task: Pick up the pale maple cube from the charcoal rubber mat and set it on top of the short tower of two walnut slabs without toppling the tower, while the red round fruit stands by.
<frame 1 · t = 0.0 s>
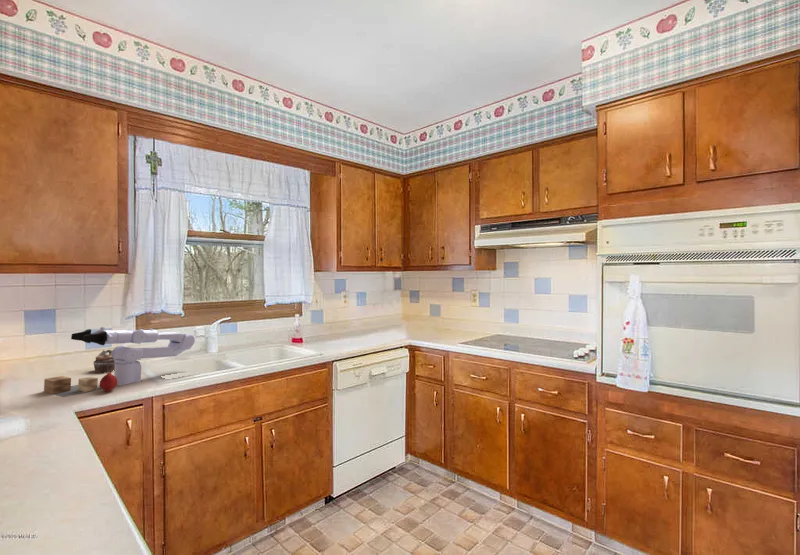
hand: (77, 337, 163), 22 cm above the worktop, tool horizontal, fingers open, 7 cm apart
red round fruit: (108, 392, 165), on the worktop
tower top: (57, 384, 162), point 3 cm above the worktop, touching tower base
mat: (73, 391, 165), on the worktop
cupcake: (105, 371, 200), on the worktop
tower base: (57, 391, 162), resting on mat, touching tower top
cube: (87, 389, 166), resting on mat
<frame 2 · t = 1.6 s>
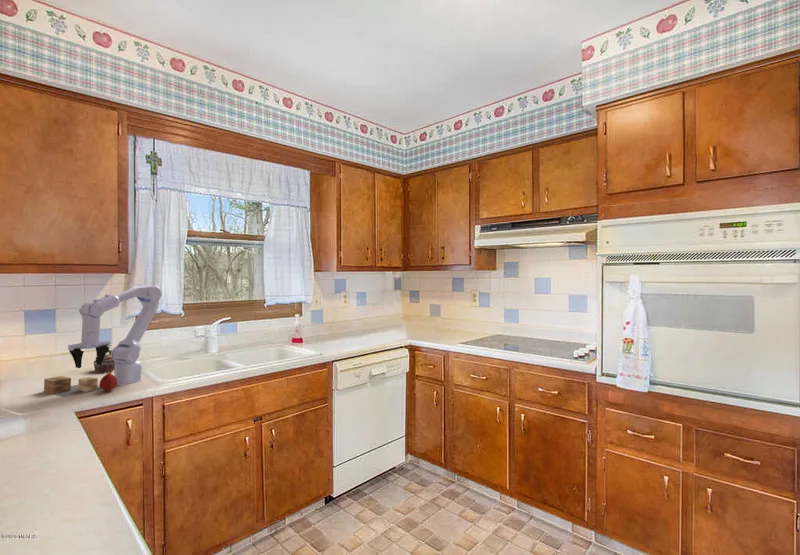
hand: (88, 366, 166), 10 cm above the worktop, tool pointing down, fingers open, 7 cm apart
nothing on the worktop moved.
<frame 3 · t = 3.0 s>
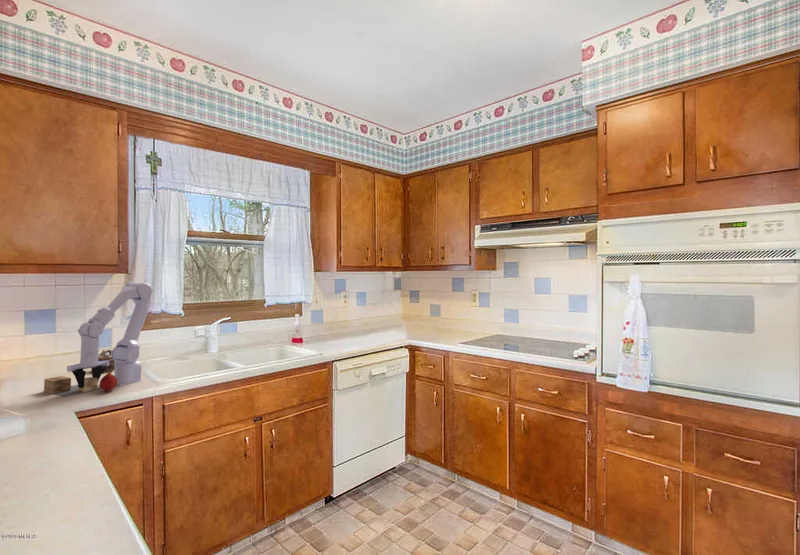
hand: (87, 386, 166), 2 cm above the worktop, tool pointing down, fingers closed on cube, 4 cm apart
cube: (87, 389, 166), resting on mat, touching gripper
everything else where it was.
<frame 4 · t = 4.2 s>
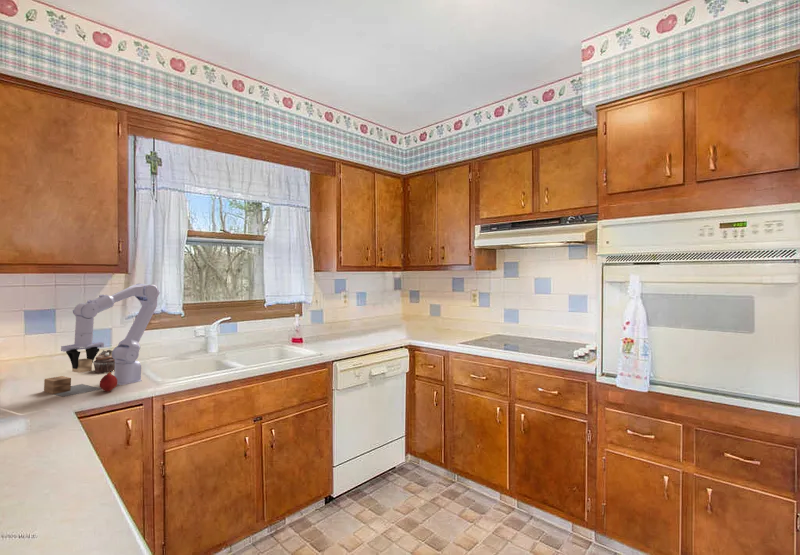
hand: (82, 367, 165), 9 cm above the worktop, tool pointing down, fingers closed on cube, 4 cm apart
cube: (81, 371, 165), point 8 cm above the worktop, touching gripper
everything else where it was.
when the fingers open (8 cm above the worktop, at t = 5.4 s): cube stays where it is, resting on tower top.
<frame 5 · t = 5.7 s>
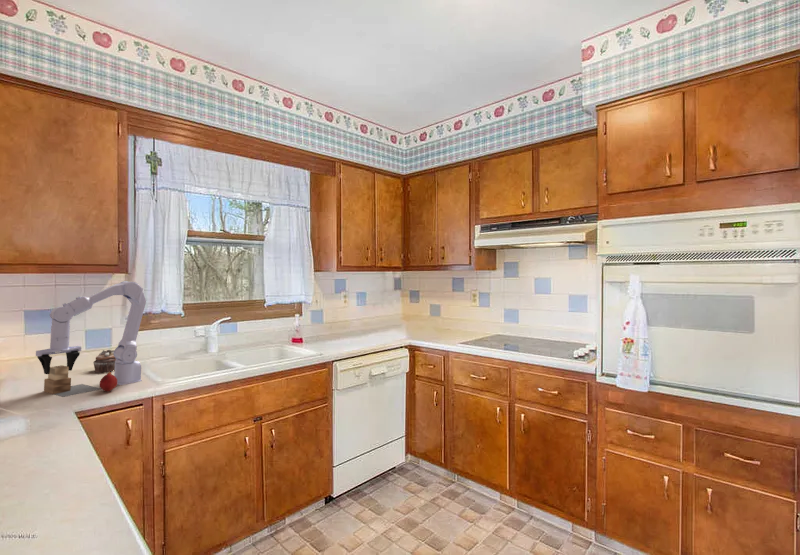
hand: (58, 372, 162), 8 cm above the worktop, tool pointing down, fingers open, 7 cm apart
tower top: (57, 384, 162), point 3 cm above the worktop, touching cube, tower base
cube: (58, 378, 162), point 5 cm above the worktop, touching tower top
everything else where it was.
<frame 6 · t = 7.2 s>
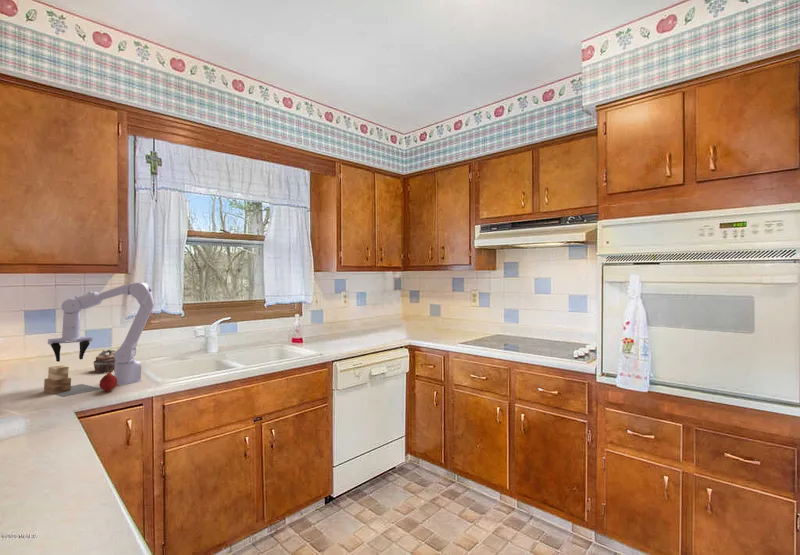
hand: (69, 360, 173), 10 cm above the worktop, tool pointing down, fingers open, 7 cm apart
nothing on the worktop moved.
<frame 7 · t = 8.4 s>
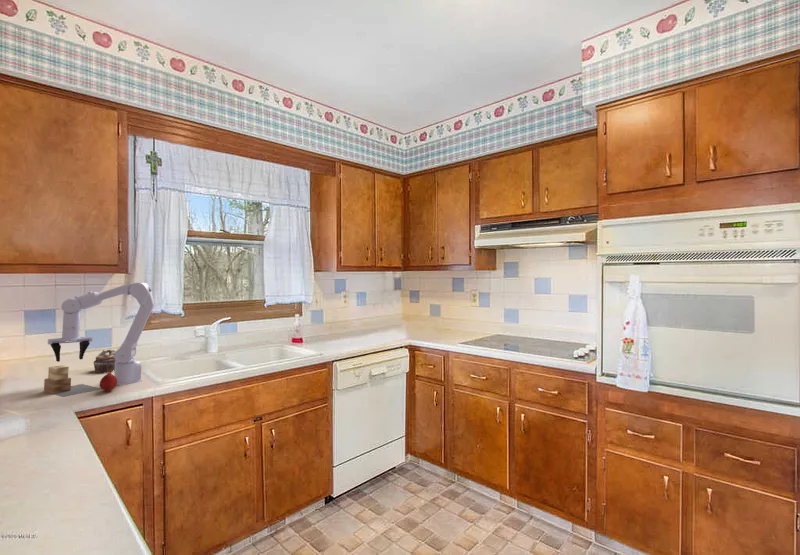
hand: (69, 360, 173), 10 cm above the worktop, tool pointing down, fingers open, 7 cm apart
nothing on the worktop moved.
at the end: cube 0.1 cm off-centre on the tower top, point 2.5 cm above the tower top's base; tower top moved 0.0 cm from its start; cube tilted 0° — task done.
